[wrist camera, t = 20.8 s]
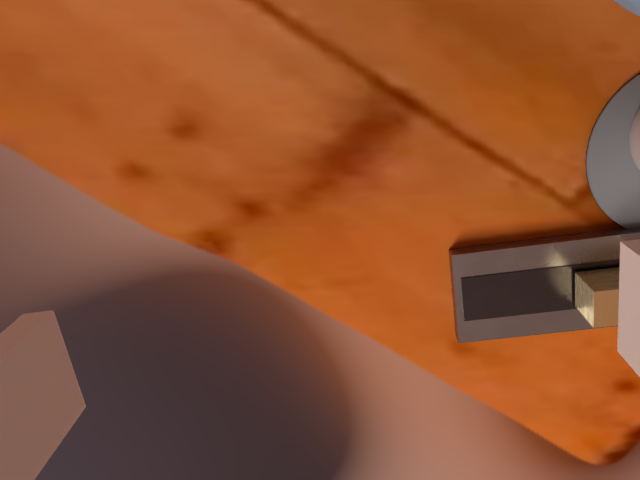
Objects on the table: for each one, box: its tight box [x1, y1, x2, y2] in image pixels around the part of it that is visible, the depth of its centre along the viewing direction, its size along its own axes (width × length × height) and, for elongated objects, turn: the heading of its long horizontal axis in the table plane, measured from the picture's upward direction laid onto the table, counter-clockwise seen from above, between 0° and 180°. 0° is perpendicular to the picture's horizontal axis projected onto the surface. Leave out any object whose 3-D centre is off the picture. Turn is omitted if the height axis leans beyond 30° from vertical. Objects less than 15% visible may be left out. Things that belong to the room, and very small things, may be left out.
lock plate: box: [449, 227, 640, 343], centre depth 41 cm, size 7×15×1 cm, turn 99°
